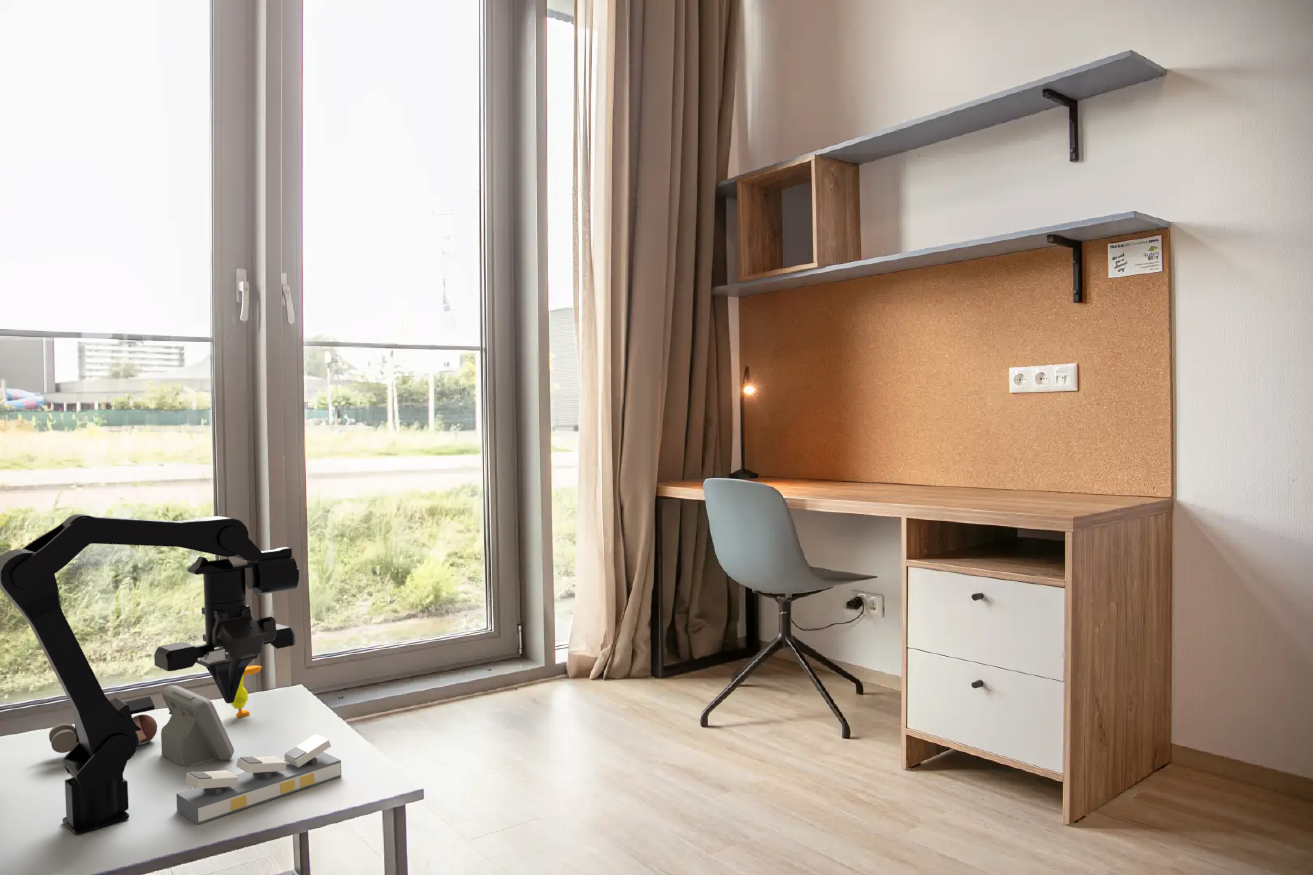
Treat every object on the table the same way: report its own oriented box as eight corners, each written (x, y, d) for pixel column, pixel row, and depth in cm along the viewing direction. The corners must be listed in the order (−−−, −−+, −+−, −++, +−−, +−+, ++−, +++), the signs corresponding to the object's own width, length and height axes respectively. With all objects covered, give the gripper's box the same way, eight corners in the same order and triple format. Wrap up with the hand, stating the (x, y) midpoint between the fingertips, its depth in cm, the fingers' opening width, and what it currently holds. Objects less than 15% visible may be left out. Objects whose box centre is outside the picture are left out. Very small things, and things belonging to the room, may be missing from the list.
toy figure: (260, 708, 172) (258, 645, 172) (265, 712, 170) (263, 649, 169) (222, 716, 168) (219, 652, 168) (226, 721, 165) (224, 655, 165)
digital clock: (237, 761, 145) (234, 695, 145) (174, 776, 140) (171, 708, 140) (215, 735, 158) (212, 674, 158) (157, 747, 153) (154, 685, 153)
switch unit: (198, 825, 122) (197, 800, 122) (177, 810, 127) (176, 786, 127) (342, 776, 137) (342, 754, 137) (318, 765, 142) (318, 743, 142)
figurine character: (56, 776, 145) (162, 743, 154) (48, 730, 144) (154, 700, 153) (54, 764, 150) (156, 733, 159) (45, 720, 150) (148, 691, 159)
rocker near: (196, 788, 124) (198, 778, 124) (185, 781, 126) (187, 771, 127) (236, 785, 128) (238, 775, 128) (224, 778, 130) (226, 769, 131)
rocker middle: (248, 772, 129) (250, 763, 129) (236, 766, 131) (238, 756, 132) (284, 770, 133) (286, 761, 133) (272, 764, 135) (274, 754, 136)
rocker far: (298, 767, 134) (295, 759, 134) (285, 761, 137) (282, 753, 137) (331, 746, 138) (328, 738, 138) (318, 740, 141) (315, 733, 140)
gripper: (180, 618, 124) (185, 730, 124) (310, 595, 138) (314, 697, 138) (150, 608, 132) (155, 714, 132) (276, 588, 145) (280, 684, 146)
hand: (229, 702), depth 137 cm, fingers closed
